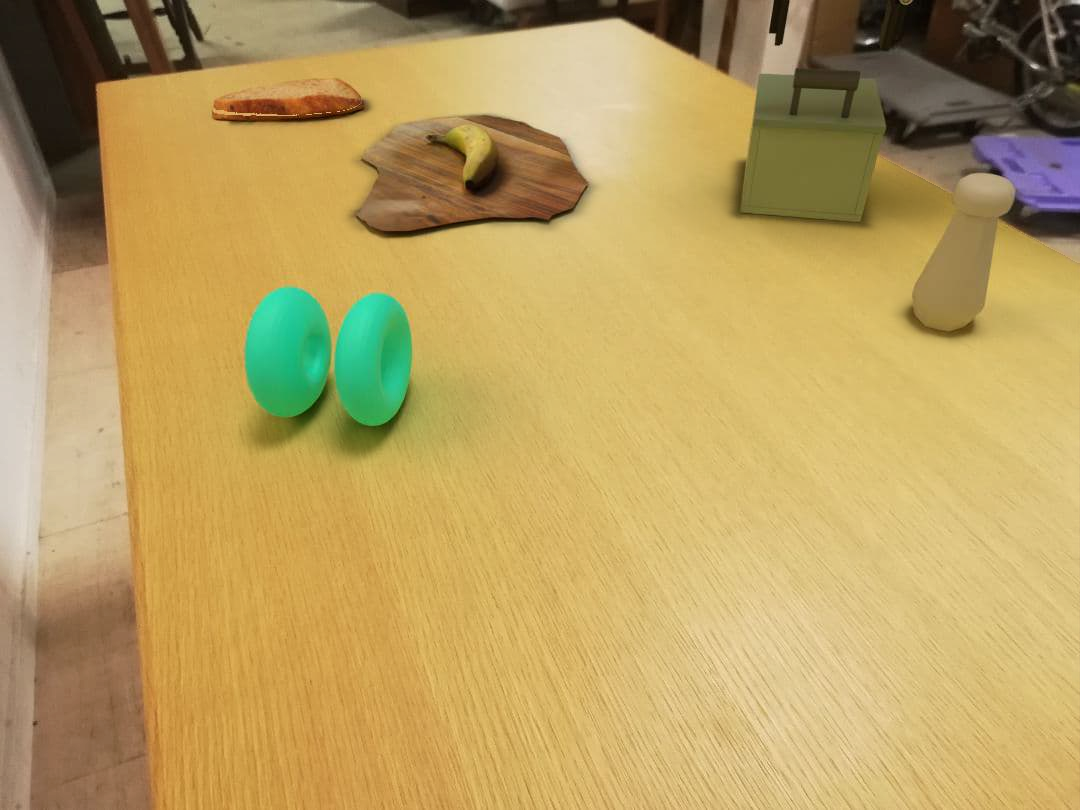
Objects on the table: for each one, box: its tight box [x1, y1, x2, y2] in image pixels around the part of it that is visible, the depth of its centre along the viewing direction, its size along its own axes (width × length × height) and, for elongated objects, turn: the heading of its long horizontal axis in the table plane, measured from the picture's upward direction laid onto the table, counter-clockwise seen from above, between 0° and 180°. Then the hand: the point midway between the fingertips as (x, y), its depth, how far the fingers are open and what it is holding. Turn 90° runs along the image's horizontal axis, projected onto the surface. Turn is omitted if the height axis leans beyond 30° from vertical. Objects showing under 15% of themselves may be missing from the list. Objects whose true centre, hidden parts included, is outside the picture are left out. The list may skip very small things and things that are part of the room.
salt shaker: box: [911, 172, 1017, 333], centre depth 65 cm, size 6×6×13 cm
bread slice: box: [211, 77, 365, 122], centre depth 114 cm, size 18×18×4 cm
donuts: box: [244, 286, 413, 427], centre depth 59 cm, size 10×10×10 cm
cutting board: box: [356, 114, 590, 232], centre depth 96 cm, size 35×27×4 cm
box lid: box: [753, 67, 887, 135], centre depth 82 cm, size 14×13×5 cm
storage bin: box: [739, 84, 884, 223], centre depth 87 cm, size 14×13×10 cm
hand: (830, 44), depth 75 cm, fingers open, 9 cm apart
